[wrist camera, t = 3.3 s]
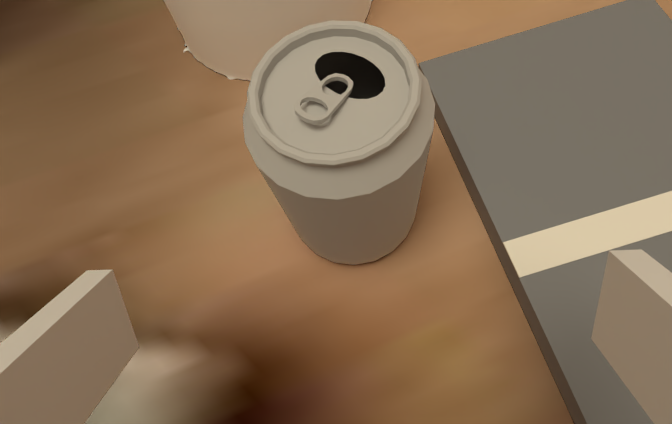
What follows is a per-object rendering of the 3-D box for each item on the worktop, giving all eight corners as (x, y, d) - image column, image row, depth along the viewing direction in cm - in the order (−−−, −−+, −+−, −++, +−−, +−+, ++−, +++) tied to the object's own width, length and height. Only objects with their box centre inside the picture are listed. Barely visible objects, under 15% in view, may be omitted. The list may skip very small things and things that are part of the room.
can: (438, 192, 25) (482, 50, 14) (370, 293, 23) (360, 221, 12) (339, 137, 27) (310, -24, 16) (270, 225, 26) (184, 112, 14)
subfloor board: (417, 78, 28) (418, 62, 27) (636, 12, 29) (650, -8, 27) (593, 465, 19) (610, 472, 18) (914, 365, 19) (958, 365, 18)
